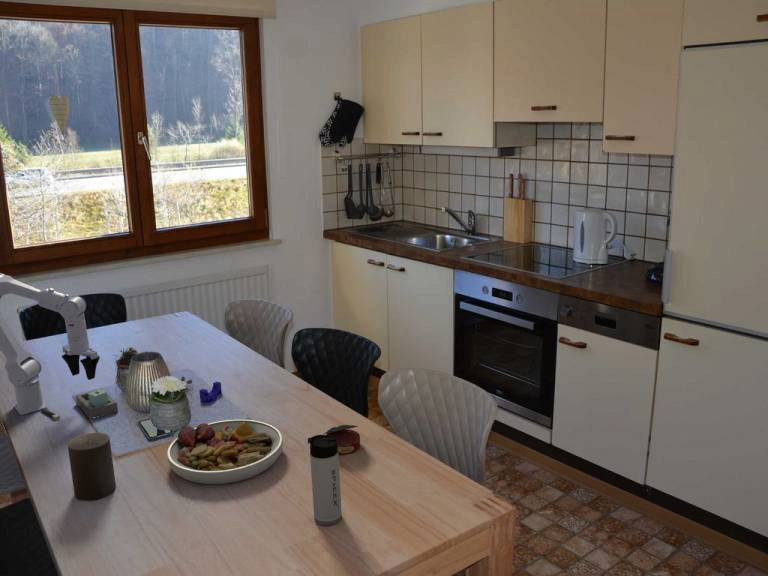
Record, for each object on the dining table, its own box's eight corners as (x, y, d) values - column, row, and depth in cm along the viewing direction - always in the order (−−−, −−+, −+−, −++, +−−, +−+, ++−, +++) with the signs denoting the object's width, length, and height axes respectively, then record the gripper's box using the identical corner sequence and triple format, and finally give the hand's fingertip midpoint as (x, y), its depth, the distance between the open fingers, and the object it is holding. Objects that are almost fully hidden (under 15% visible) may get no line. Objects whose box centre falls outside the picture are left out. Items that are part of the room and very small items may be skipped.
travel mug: (312, 511, 167) (307, 433, 162) (341, 509, 168) (337, 431, 162) (312, 527, 161) (307, 446, 156) (342, 525, 162) (337, 443, 156)
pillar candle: (91, 505, 173) (83, 448, 169) (66, 494, 178) (58, 439, 174) (124, 487, 181) (117, 432, 177) (99, 477, 186) (92, 423, 182)
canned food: (327, 468, 196) (308, 438, 195) (342, 448, 205) (323, 419, 203) (360, 457, 191) (340, 426, 189) (373, 436, 200) (355, 406, 198)
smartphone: (161, 415, 221) (174, 432, 208) (161, 418, 221) (175, 435, 209) (136, 421, 217) (148, 439, 205) (136, 424, 217) (149, 442, 205)
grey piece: (76, 404, 232) (75, 395, 231) (102, 397, 237) (100, 388, 236) (92, 419, 221) (90, 409, 220) (118, 411, 226) (116, 402, 225)
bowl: (302, 442, 202) (300, 416, 200) (249, 498, 175) (246, 468, 173) (209, 429, 212) (206, 405, 210) (145, 481, 184) (141, 453, 182)
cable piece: (41, 412, 227) (40, 408, 227) (45, 410, 228) (44, 407, 228) (55, 420, 221) (55, 416, 221) (60, 418, 222) (59, 415, 222)
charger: (90, 408, 225) (87, 392, 224) (102, 403, 228) (99, 388, 227) (96, 411, 223) (94, 395, 222) (108, 406, 226) (106, 391, 225)
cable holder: (209, 403, 229) (207, 392, 228) (200, 402, 231) (199, 390, 230) (225, 394, 236) (224, 383, 235) (217, 392, 238) (216, 381, 237)
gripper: (51, 336, 224) (57, 376, 227) (81, 342, 216) (87, 385, 220) (71, 329, 230) (77, 369, 233) (100, 336, 222) (106, 377, 226)
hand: (83, 376), depth 227 cm, fingers open, 7 cm apart
